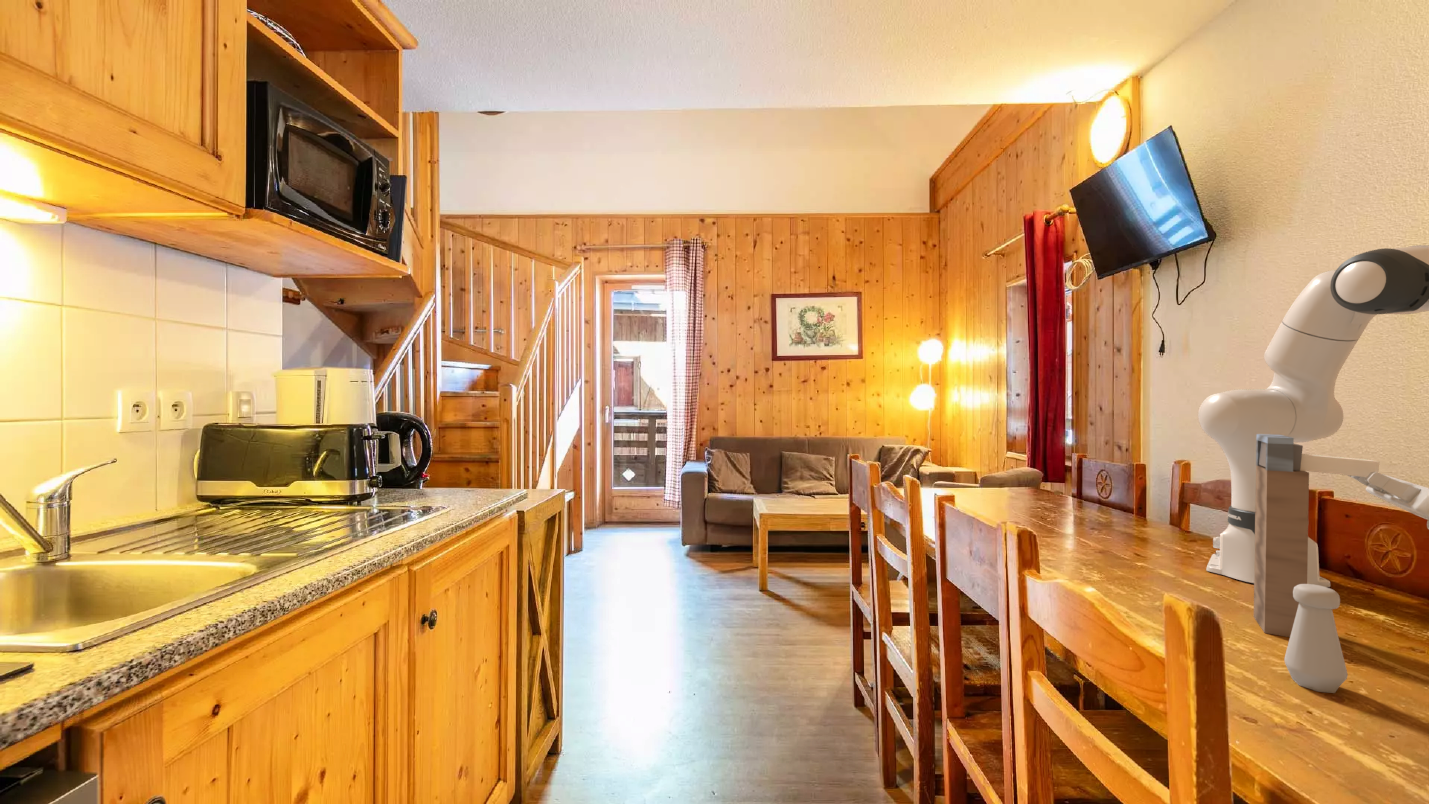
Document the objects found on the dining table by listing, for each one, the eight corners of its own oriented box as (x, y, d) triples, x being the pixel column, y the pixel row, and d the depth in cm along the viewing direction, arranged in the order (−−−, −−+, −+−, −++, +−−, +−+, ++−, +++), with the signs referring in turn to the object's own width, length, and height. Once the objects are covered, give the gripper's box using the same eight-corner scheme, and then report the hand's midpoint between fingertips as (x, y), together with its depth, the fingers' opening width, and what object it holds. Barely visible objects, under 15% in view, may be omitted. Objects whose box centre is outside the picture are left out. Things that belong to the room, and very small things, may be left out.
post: (1253, 616, 101) (1256, 434, 100) (1292, 622, 98) (1295, 435, 98) (1264, 632, 94) (1267, 437, 94) (1306, 639, 92) (1309, 438, 91)
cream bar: (1258, 464, 99) (1261, 440, 99) (1367, 475, 92) (1370, 449, 92) (1265, 467, 95) (1268, 442, 95) (1380, 479, 88) (1383, 452, 88)
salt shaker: (1360, 698, 74) (1362, 595, 74) (1306, 694, 75) (1308, 592, 75) (1322, 676, 80) (1324, 581, 80) (1273, 672, 81) (1274, 578, 81)
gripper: (1456, 497, 93) (1348, 449, 99) (1537, 522, 75) (1401, 462, 82) (1425, 529, 94) (1321, 480, 101) (1497, 560, 77) (1367, 498, 84)
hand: (1357, 472), depth 91 cm, fingers open, 8 cm apart
